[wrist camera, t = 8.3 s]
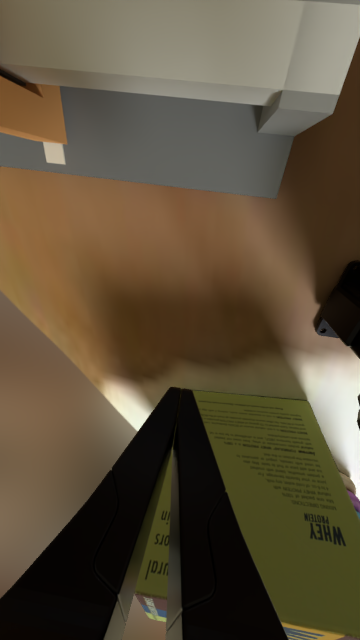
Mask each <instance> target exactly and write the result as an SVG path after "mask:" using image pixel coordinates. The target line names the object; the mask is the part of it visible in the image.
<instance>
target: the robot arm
mask: <svg viewBox="0 0 360 640" xmlns="http://www.w3.org/2000/svg"><path fill="white" fill-rule="evenodd" d="M355 266H358V268H357V269H356V270H353V268H354V267H355ZM323 328H324V330H322V331H320V330H321V329H323ZM315 331H316V332H317V334H318V335H321V336H328V337H334V338H340V340H341V341H342V342H343V343H344V344H345V345H346V346H349V347H350V348H351V349H352V351H353V352H354V353H355V354H356V355H357V356H358V358H359V359H360V261H358V260H357V261H352V262H351V263H349V264H348V266H347V267H346V269H345V271H344V273H343V275H342V277H341V279H340V281H339V283H338V285H337V287H335V288H334V290H333V292H332V294H331V296H330V298H329V299H328V301H327V303H326V305H325V307H324V309H323V311H322V313H321V318H320V320H319V321H318V323H317V325H316V327H315ZM179 401H180V402H179ZM358 401H359V405H360V394H359V396H358ZM178 408H179V409H178ZM177 415H178V416H177ZM357 423H358V426H359V429H360V410H359V412H358V418H357ZM175 428H176V429H175ZM174 435H175V436H174ZM173 441H174V443H173ZM172 447H173V452H172ZM171 452H172V477H171V505H170V532H169V560H168V588H167V615H166V631H167V632H166V640H289V639H288V637H287V634H286V632H285V630H284V628H283V625H282V623H281V621H280V619H279V616H278V614H277V612H276V610H275V607H274V605H273V603H272V601H271V598H270V596H269V594H268V592H267V589H266V587H265V585H264V583H263V580H262V578H261V576H260V574H259V571H258V569H257V567H256V565H255V562H254V560H253V558H252V555H251V553H250V551H249V548H248V546H247V544H246V541H245V539H244V536H243V534H242V532H241V529H240V526H239V524H238V521H237V518H236V515H235V513H234V510H233V507H232V504H231V501H230V498H229V496H228V493H227V492H225V491H226V487H225V484H224V481H223V478H222V475H221V472H220V469H219V467H218V464H217V461H216V458H215V455H214V452H213V449H212V446H211V443H210V440H209V437H208V434H207V431H206V428H205V425H204V423H203V420H202V417H201V414H200V411H199V408H198V405H197V402H196V399H195V396H194V393H193V391H192V390H189V389H182V390H181V389H180V388H177V387H170V388H169V389H168V391H167V392H166V394H165V395H164V396H163V398H162V399H161V400H160V402H159V403H158V405H157V406H156V407H155V409H154V410H153V412H152V413H151V414H150V416H149V417H148V418H147V420H146V421H145V423H144V424H143V425H142V427H141V428H140V429H139V431H138V432H137V434H136V435H135V436H134V438H133V439H132V441H131V442H130V443H129V445H128V446H127V447H126V449H125V450H124V452H123V453H122V454H121V456H120V457H119V458H118V460H117V461H116V463H115V464H114V465H113V467H112V470H110V471H109V472H108V473H107V475H106V476H105V478H104V479H103V480H102V482H101V483H100V484H99V486H98V487H97V488H96V490H95V491H94V492H93V494H92V495H91V496H90V498H89V499H88V500H87V501H86V502H85V504H84V505H83V506H82V507H81V508H80V510H79V511H78V512H77V513H76V515H75V516H74V517H73V518H72V519H71V520H70V522H69V523H68V524H67V525H66V526H65V527H64V528H63V529H62V531H61V532H60V533H59V534H58V535H57V536H56V538H55V539H54V540H53V541H52V542H51V543H50V544H49V545H48V547H47V548H46V549H45V550H44V551H43V552H42V553H41V554H40V556H39V557H38V558H37V559H36V560H35V561H34V562H33V564H32V565H31V566H30V567H29V568H28V569H27V570H26V571H25V573H24V574H23V575H22V576H21V577H20V578H19V579H18V580H17V581H16V583H15V584H14V585H13V586H12V587H11V588H10V589H9V590H8V591H7V592H6V593H5V594H4V595H3V597H1V598H0V640H122V636H123V633H124V629H125V625H126V623H125V622H126V621H127V618H128V614H129V610H130V606H131V603H132V599H133V595H134V591H135V588H136V584H137V580H138V576H139V573H140V569H141V565H142V561H143V558H144V554H145V550H146V546H147V543H148V539H149V535H150V531H151V528H152V524H153V520H154V516H155V513H156V509H157V505H158V501H159V497H160V494H161V490H162V486H163V482H164V479H165V475H166V471H167V467H168V464H169V460H170V456H171Z"/></svg>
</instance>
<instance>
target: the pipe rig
mask: <svg viewBox="0 0 360 640" xmlns="http://www.w3.org/2000/svg"><path fill="white" fill-rule="evenodd" d="M359 38H360V0H0V76H2V77H3V78H5V79H7V80H9V81H11V82H13V83H15V84H17V85H20V86H26V83H36V84H46V85H57V86H60V94H61V101H62V108H63V116H64V123H65V130H66V138H67V144H59V143H50V142H41V141H34V140H30V139H26V138H21V137H17V136H13V135H9V134H5V133H1V132H0V166H4V167H12V168H21V169H29V170H37V171H46V172H54V173H63V174H71V175H79V176H88V177H96V178H105V179H113V180H122V181H130V182H138V183H147V184H155V185H164V186H172V187H181V188H189V189H197V190H206V191H214V192H223V193H231V194H240V195H248V196H256V197H265V198H273V199H276V198H277V194H278V191H279V187H280V184H281V180H282V177H283V174H284V170H285V167H286V163H287V160H288V156H289V153H290V150H291V146H292V143H293V139H294V136H296V135H297V134H299V133H301V132H302V131H304V130H306V129H308V128H309V127H311V126H313V125H314V124H316V123H318V122H320V121H321V120H323V119H325V118H326V117H328V116H330V115H331V114H333V112H334V109H335V106H336V103H337V101H338V98H339V95H340V92H341V89H342V86H343V83H344V80H345V78H346V75H347V72H348V69H349V66H350V63H351V60H352V58H353V55H354V52H355V49H356V46H357V43H358V40H359Z"/></svg>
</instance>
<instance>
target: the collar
mask: <svg viewBox="0 0 360 640" xmlns="http://www.w3.org/2000/svg"><path fill="white" fill-rule="evenodd" d="M0 132H1V133H5V134H9V135H13V136H17V137H21V138H26V139H30V140H34V141H41V142H50V143H59V144H67V138H66V130H65V123H64V116H63V108H62V101H61V94H60V86H57V85H46V84H36V83H26V86H20V85H17V84H15V83H13V82H11V81H9V80H7V79H5V78H3V77H2V76H0Z"/></svg>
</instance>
